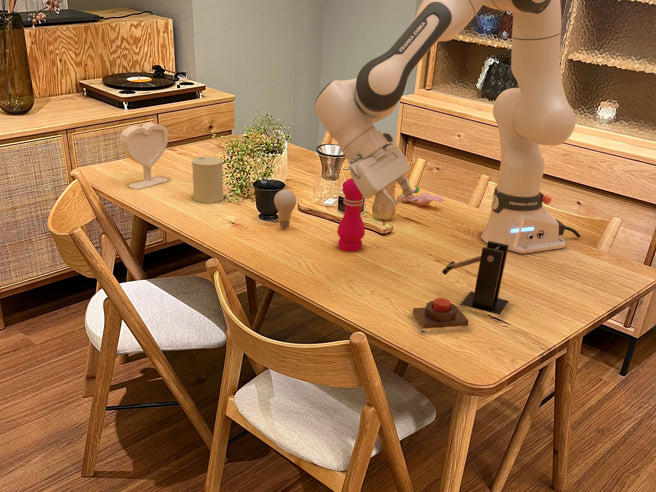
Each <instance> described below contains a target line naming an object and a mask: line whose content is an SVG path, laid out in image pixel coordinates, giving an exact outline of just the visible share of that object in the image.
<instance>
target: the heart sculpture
mask: <svg viewBox="0 0 656 492" xmlns="http://www.w3.org/2000/svg"><path fill="white" fill-rule="evenodd" d="M119 139H120V140H119V141H120V146H121V150H122V151H123V153H124V154H125V156H126V157H127V158H129V159H130V160H131V161H133V162H136V163H137V164H140V165H141V166H142V168H143V169H142V170H143V171H142V172H143V180H140V181H137V182H133V183H130V184H128V187H129V188H131V189H142V188H146V187H149V186H153V185H158V184H161V183H165V182H168V179H167V178H165V177H159V176H158V177H153V178H152V167H153V166H154V165H155V164H156V163H157V162H158V161H159V160H160V158H161V157H162V156H163V154H164V153H165V151H166V148H167V145H168V142H169V131H168V128H167V127H166V126H164V125H162V124H159V123H154V122H145V123H143V125H141V126H140V125H130V126H129V127H126V128H125V129H124V130H122V131H121V133H120V137H119Z"/></svg>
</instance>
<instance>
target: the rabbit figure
mask: <svg viewBox="0 0 656 492" xmlns="http://www.w3.org/2000/svg"><path fill="white" fill-rule="evenodd" d="M414 188H415V189H412V190H413V194H411V195H410V196H409V197H407V198H406V197H405V196H404V194H403V193H400V195H398V196H397V198H396V201H399V200H400V199H401V201H402V203H410V202H411V203H416V202H417V204H418V205H419V206H421V207H424V206H427V205H430V204H431V202H433V201H435V202H440V203H444V202H446V200H445V198H443V197H442V196H440V195H432V194H430V193H429V192H422V193H420V195H418V193H419V192H420V191H421V190H420V187H419V186H417V185H416V186H414ZM414 194H416V195H414Z"/></svg>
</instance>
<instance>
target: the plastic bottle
mask: <svg viewBox="0 0 656 492" xmlns="http://www.w3.org/2000/svg"><path fill="white" fill-rule="evenodd" d="M396 185H397V182H396V181H395V182H393V183H392V184H390V185H389V186H387V187H386V188H385V189H386V191H387V194H388V195H389V196H390V197H391V198H394V199H395V192H396ZM395 200H396V199H395ZM371 210H372V215H373V217H374V218H376V219H377V220H383V221H389V220H391V219H393V218H394V216H395V213H396V206H395V207H394V208H392V209H389V208H388V207H387V205H386V204H385V203H383V202H382V201H380V200H379V199H378V198H377V197H376V195H374V200H373V203H372V207H371Z"/></svg>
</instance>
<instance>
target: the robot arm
mask: <svg viewBox="0 0 656 492" xmlns="http://www.w3.org/2000/svg"><path fill="white" fill-rule="evenodd" d="M482 8H485V9H486V8H489V9H492V10H497V11H503V12H507V11H508V12H509V11H510V12H511V14H512V18H513V19H512V26H511V27H512V29H511V55H510V56H511V61H510V69H511V73H512V75H513V77H514V78H515V80H516V82H517V85H518V87H510V88H507V89H504V90H503V91H502V92H501V93H499V95H498V96H497V98H496V99H495V100H494V103H493V107H492V115H493V118H494V120H495V122H496V124H497V128H498V133H499V140H500V142H499V143H500V164H499V171H498V177H497V184H496V186H495V188H494V190H493V195H492V200H491V210H490V214H489V217H488V220H487V222H486V225H485V228H484V230H483V232H482V234H481V235H480V237H481V239H482V241H483V242H485V243H486V244H488V241H492V242H497V243H501V244H506V245H509V246H508V251H511V252H514V253H517V254H522V255H523V254H530V253H538V252H544V251H545V252H546V251H551V250H559V249H564V248H566V241H565V239H564V238H563V237H562V236H564V234H565V233H564V232H565V230H566V231H568V232H570V233H573V234H574V235H575V236H576V237H577V238H578V239H580V238H581V234H580V233H579V232H578V231H577V230H576V229H575V228H572V227H569V226H566V225H565V224H564V223H562V222H561V221H560V220H559V219H557V218H555V217H554V216H553V215H552V213H550V212H549V211H548V210H547V209H546V207H544V205H543V203H544V204H545V205H549V204H551V203H552V197H551V196H549V195H548V194H543V192H541V191H540V190H541V186H542V181H543V176H544V172H545V169H546V168H545V167H546V166H545V165H546V164H545V160H544V157H543V156H542V152H541V150H540V145H541V146H553V147H554V146H555V147H557V146H560V145H561V144H564V143H565V142H566V141H567V140H569V138H570V137H571V136H572V134H573V132H574V130H575V128H576V123H577V118H576V113H575V111H574V110H573V109H572V107H571V105H570V103H569V101H568V99H567V96H566V92H565V88H564V85H563V80H562V74H561V63H560V61H561V37H562V36H561V35H562V5H561V0H422V2H421V3H420V5H419V7H418V9H417V12H416V15H415V17H414V19H413V21H412V22H411V24H410V25H409V26H408V27H407V29H406V30H404V32H403V33H402V34H401V35H400V36H399V38H398V39H397V40H396V41H395V42H394V43H393V45H392V46H391V47H390V48H389V49H388V50H387V51H386V52H384V53H383V54H381V55H379V56H377V57H375V58H373V59H371V60H369V61H368V62H367V63H365V64H364V65H363V66H362V67H361V68H360V70H359V72H358V74H357V76H356V78H351V79H344V80H340V79H339V80H338V79H334V80H331V81H330V82H329V83H327V84H326V85H325V87H323V88H322V90H321V91H320V92H319V94H318V96H317V97H316V100H315V102H314V110H315V113H316V115H317V117H318V119H319V120H320V122H321V124H322V125H323V128H325V130H326V132H327V133H328V134H329V136H330V137H331V138H333V139H334V140H335V141H336V143H337V144H338V145H339V148H340V151H341V152H342V154H343V155H344V157H345V158H346V160H347V163H348V169H349V171H350V172H349V173H350V177H351V178H352V179H353V181H354V182H355V184H356V186H357V187H358V189H359V191H360V192H361V194H362V195H363V198H365V199H367V200H369V199H371V198H372V197H375V195H376V197H377V198H378V199H379V200H380V201H382V202H383V203H385V204H386V205H387V207H388V208H389V209H392V208H394V207H395V208H396V206H398V201H397V199H394V198H391V197H390V196H389V195H388V194H387V191H386V189H385V188H386V187H387V186H389V185H390V184H392V183H393V182H395V181H396V184H398V185H399V187H400V188H401V190H402V191H401V194H404V195H403V196H405V197H406V198H407V197H409V196H410V195H411V194H413V195H414V193H413V190H414V189H413V188H412V187H411V184H410V182H409V178H408V177H407V174H408V173H409V172H410V171H411V165H410V162H409V161H408V159H407V157H406V156H405V155H404V153H403V152H402V150H401V149H400V148H399V146H398V145H397V144H396V143H394V142H395V138H394V137H393V135H392V134H391V133H390V132H383V131H380V130H377V128H376V127H375V126H374V123H376V122H378V121H380V120H383V119H385V118H387V117H388V116H390V115H391V114H392V113H393V112H394V110H395V108H396V106H397V105H398V102H400V100H401V99H402V98H403V95H404V93H405V90H406V86H407V83H408V79H409V77H410V75H411V73H412V71H413V70H414V69H415V68H416V67H417V66H418V64H419V63H420V62H421V61H422V60H423V58H424V57H425V56H426V55H427V53H428V52H429V51H430V50H431V49H432V48H433V46H435V45H436V44H437V43H439V42H448V41H451V40H453V39H454V38H455V37H456V36H458V34H460V33H461V32H462V31H463V30H464V29H465V28H466V27H467V26H468V24H469V23H470V22H471V21H472V20H473V19H474V17H476V15H477V14H478V12H479V11H480V10H481V9H482Z"/></svg>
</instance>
